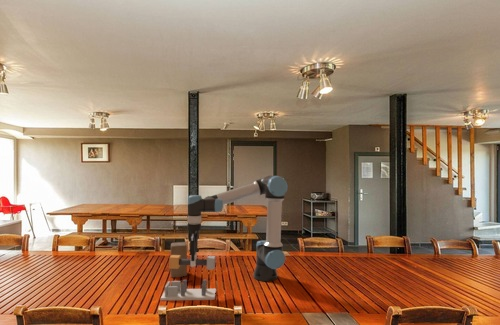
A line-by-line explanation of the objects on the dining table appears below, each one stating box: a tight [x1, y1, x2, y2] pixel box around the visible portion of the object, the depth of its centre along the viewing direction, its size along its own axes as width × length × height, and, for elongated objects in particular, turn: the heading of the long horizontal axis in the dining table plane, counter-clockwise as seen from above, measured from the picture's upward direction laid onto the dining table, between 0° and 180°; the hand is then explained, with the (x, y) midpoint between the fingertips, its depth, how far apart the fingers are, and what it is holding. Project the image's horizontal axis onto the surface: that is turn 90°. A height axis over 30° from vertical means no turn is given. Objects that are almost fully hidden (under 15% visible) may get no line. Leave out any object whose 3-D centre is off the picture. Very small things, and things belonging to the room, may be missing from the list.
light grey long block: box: [160, 279, 217, 301], centre depth 167 cm, size 28×12×7 cm, turn 92°
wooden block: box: [170, 241, 188, 278], centre depth 199 cm, size 10×10×20 cm
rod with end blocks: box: [168, 254, 216, 271], centre depth 171 cm, size 24×5×6 cm, turn 91°
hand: (193, 265), depth 171 cm, fingers closed on rod with end blocks, 3 cm apart
